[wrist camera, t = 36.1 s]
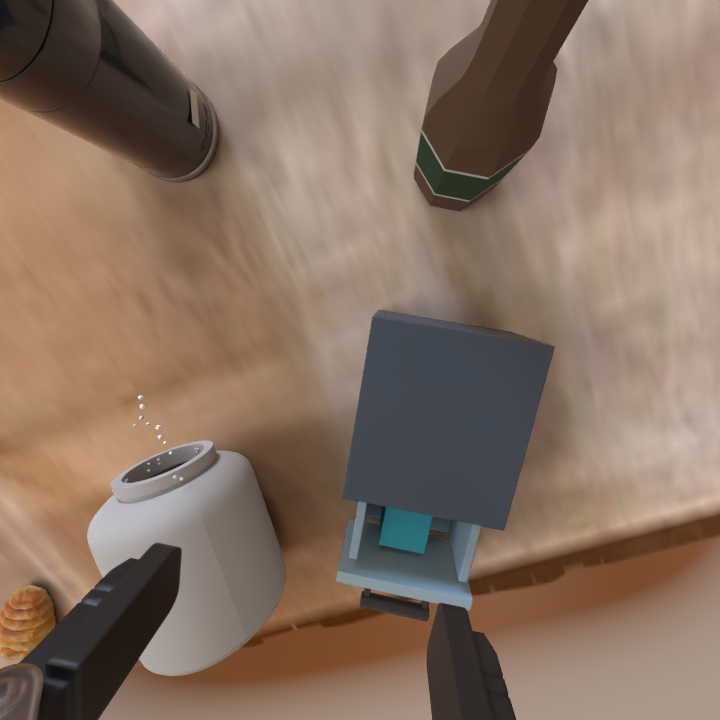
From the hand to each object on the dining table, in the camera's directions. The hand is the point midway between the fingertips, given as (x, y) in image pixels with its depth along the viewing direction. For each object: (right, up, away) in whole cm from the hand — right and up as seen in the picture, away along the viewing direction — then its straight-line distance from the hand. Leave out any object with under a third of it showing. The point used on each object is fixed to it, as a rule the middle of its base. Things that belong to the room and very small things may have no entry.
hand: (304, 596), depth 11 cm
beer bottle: (+11, +25, +23) cm, 36 cm away
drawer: (+7, -9, +29) cm, 31 cm away
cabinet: (+9, +4, +27) cm, 29 cm away
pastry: (-43, -28, +39) cm, 65 cm away
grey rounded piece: (-17, -7, +32) cm, 37 cm away
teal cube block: (+7, -8, +28) cm, 30 cm away
